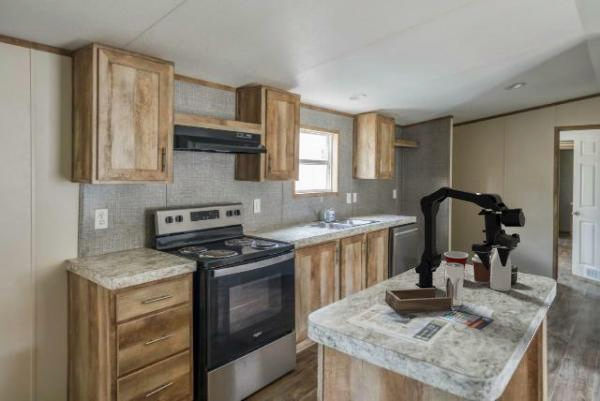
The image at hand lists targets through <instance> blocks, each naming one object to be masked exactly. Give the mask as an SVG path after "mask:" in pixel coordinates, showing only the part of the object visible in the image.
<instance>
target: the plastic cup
mask: <svg viewBox="0 0 600 401" xmlns="http://www.w3.org/2000/svg"><path fill="white" fill-rule="evenodd" d="M443 255H444V258H445V261H446V263H459V264H463V265H464V270H466V263H467V260H468V258H469V257H470V256H469V255H470V254H469V253H467V252H464V251H463V252H462V251H456V250H455V251H453V250H452V251H446V252H444V253H443Z"/></svg>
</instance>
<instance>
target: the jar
mask: <svg viewBox="0 0 600 401" xmlns="http://www.w3.org/2000/svg"><path fill="white" fill-rule="evenodd" d="M518 274H519V270H518V266H517V265H514V264H511V286H512V285H515V284H517V282H518Z"/></svg>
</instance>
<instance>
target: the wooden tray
mask: <svg viewBox="0 0 600 401" xmlns="http://www.w3.org/2000/svg"><path fill="white" fill-rule="evenodd" d="M436 290H437V289H436V288H420V287H419V288H405V289H404V288H403V289H401V288H400V289H386V290H385V298H384V302H386V303H387V304H388V305H389V306H390V307H391V308H393V310H395V312H397V313H398V314H400V315H404V314H419V313H420V314H421V313H437V312H438V313H439V312H452V311H453V308H452V306H451V299H452V298H451V297H446V296H445V297H444V296H443V297H442V296H441V297H436V296H437V295H436V294H437V292H436Z"/></svg>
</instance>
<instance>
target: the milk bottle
mask: <svg viewBox="0 0 600 401" xmlns="http://www.w3.org/2000/svg"><path fill="white" fill-rule="evenodd" d="M497 248H498V247H497ZM497 248H495V251H494V254H493V256H491V258H492V261H491V276H490V283H489V284H490V286H489V287H490V288H491V289H492V290H494V291H498V292H499V291H500V292H509V291H511V287H512V285H511V265H512V259H511V256H510V255H509V256H508V260H507V263H506V266H505V267H503V266H502V264H501V261H500V258H499V254H498V251H497Z"/></svg>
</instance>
